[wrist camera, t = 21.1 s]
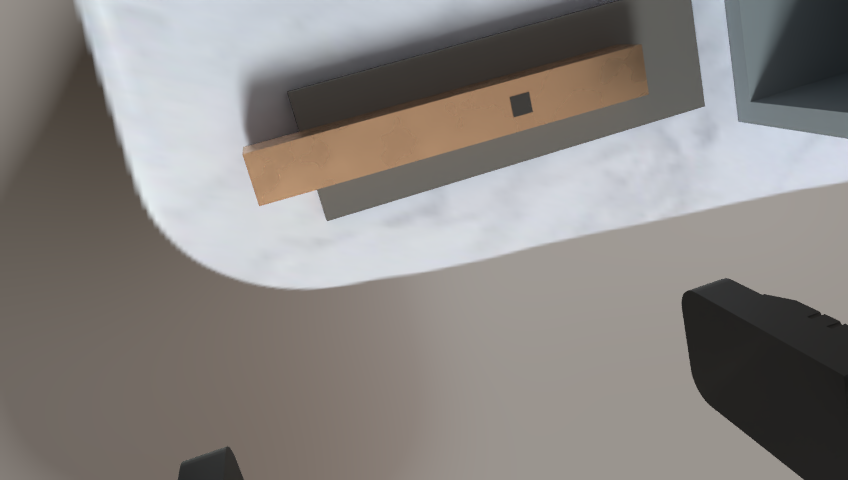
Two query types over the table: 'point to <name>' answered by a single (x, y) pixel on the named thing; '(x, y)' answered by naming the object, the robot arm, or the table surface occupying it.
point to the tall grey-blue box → (791, 63)
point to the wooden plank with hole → (444, 122)
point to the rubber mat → (498, 56)
